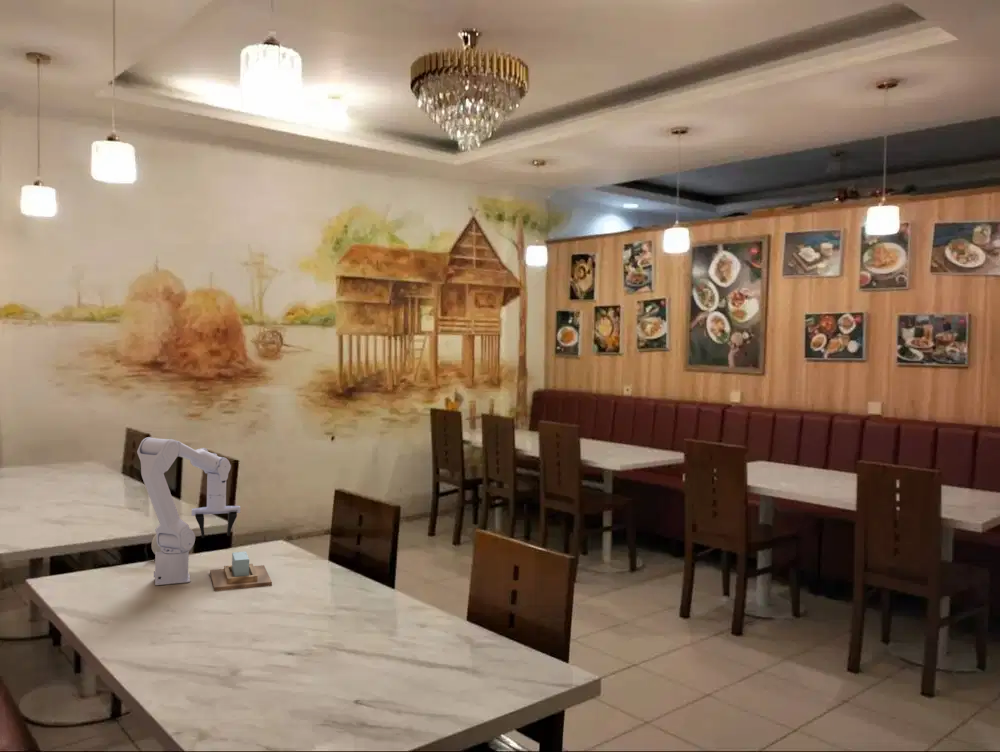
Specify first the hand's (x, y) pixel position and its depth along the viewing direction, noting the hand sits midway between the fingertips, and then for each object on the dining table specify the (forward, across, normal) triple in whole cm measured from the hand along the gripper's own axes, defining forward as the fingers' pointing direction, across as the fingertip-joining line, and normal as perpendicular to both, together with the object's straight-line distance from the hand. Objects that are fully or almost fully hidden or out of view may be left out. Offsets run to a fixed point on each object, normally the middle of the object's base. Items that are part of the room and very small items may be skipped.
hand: (215, 536), depth 239 cm
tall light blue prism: (+8, -6, +17) cm, 20 cm away
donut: (+10, +14, -14) cm, 22 cm away
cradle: (+9, -6, +17) cm, 20 cm away
